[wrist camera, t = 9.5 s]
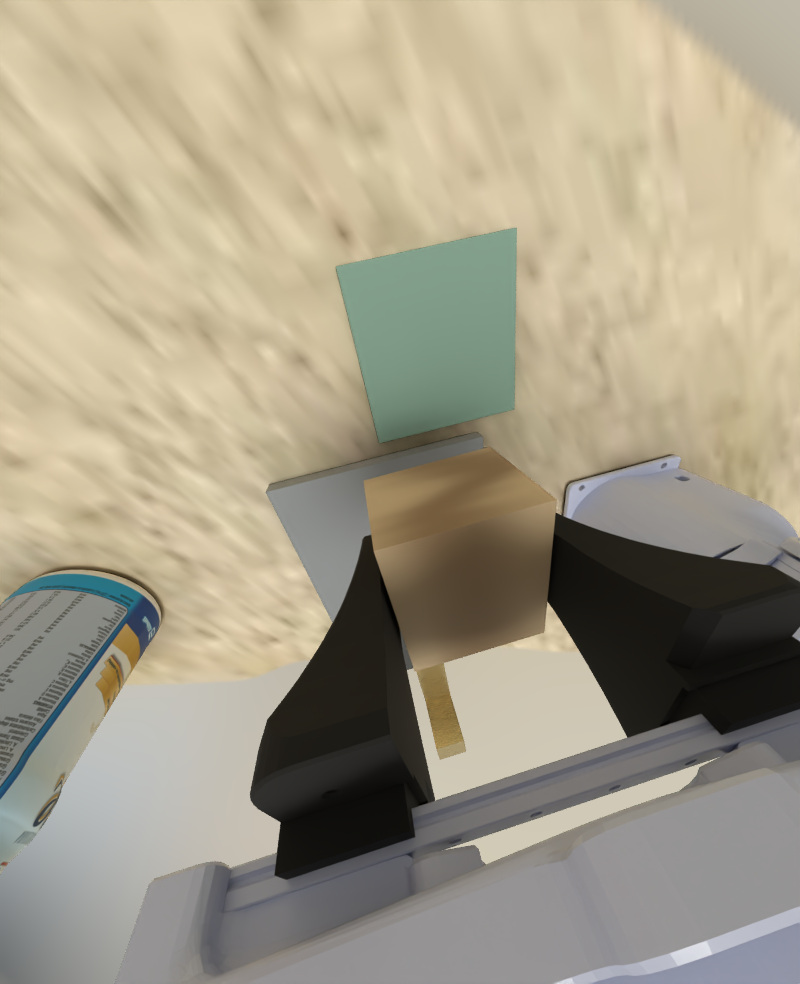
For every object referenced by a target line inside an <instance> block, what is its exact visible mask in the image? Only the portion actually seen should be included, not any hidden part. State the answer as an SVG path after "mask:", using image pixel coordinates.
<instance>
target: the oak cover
mask: <svg viewBox="0 0 800 984" xmlns="http://www.w3.org/2000/svg"><path fill="white" fill-rule="evenodd" d="M363 482H364V488H365V495H366V502H367V509H368V516H369V522H370V529H371V536H372V543H373V550H374V554H375V556H376V559H377V562H378V565H379V568H380V571H381V574H382V577H383V580H384V583H385V586H386V589H387V592H388V595H389V598H390V600H391V603H392V606H393V609H394V612H395V615H396V618H397V621H398V624H399V627H400V630H401V633H402V636H403V639H404V641H405V644H406V647H407V650H408V653H409V656H410V659H411V662H412V665H413V668H414V671H419V670H422V669H425V668H429V667H432V666H435V665H438V664H442V663H445V662H448V661H452V660H454V659H458V658H461V657H464V656H468V655H471V654H474V653H478V652H481V651H484V650H488V649H491V648H494V647H497V646H501V645H504V644H507V643H511V642H514V641H517V640H520V639H524V638H527V637H530V636H534V635H537V634H540V633H543V632H544V630H545V619H546V608H547V598H548V587H549V577H550V566H551V556H552V545H553V534H554V524H555V513H556V503H557V500H556V499H555V498H554V497H553V496H551V495H550V494H549V493H548V492H546V491H545V490H544V489H543V488H541V487H540V486H539V485H538V484H536V483H535V482H534V481H532V480H531V479H530V478H529V477H527V476H526V475H525V474H524V473H522V472H521V471H520V470H519V469H517V468H516V467H515V466H514V465H512V464H511V463H510V462H509V461H507V460H506V459H505V458H504V457H502V456H501V455H500V454H499V453H497V452H496V451H495V450H493V449H492V448H491V447H487V448H483V449H479V450H476V451H472V452H468V453H465V454H461V455H457V456H453V457H450V458H446V459H442V460H439V461H435V462H431V463H427V464H424V465H420V466H416V467H413V468H409V469H405V470H401V471H398V472H394V473H390V474H386V475H383V476H379V477H375V478H372V479H368V480H364V481H363Z"/></svg>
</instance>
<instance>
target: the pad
mask: <svg viewBox="0 0 800 984" xmlns="http://www.w3.org/2000/svg"><path fill="white" fill-rule="evenodd" d="M516 243H517V228H512V229H508V230H503V231H498V232H494V233H489V234H484V235H480V236H475V237H471V238H466V239H461V240H457V241H452V242H447V243H443V244H438V245H434V246H429V247H424V248H420V249H415V250H410V251H406V252H401V253H397V254H392V255H387V256H383V257H378V258H373V259H369V260H364V261H360V262H355V263H350V264H346V265H341V266H336V270H337V274H338V278H339V282H340V286H341V290H342V294H343V298H344V302H345V306H346V310H347V314H348V319H349V323H350V327H351V331H352V335H353V339H354V343H355V347H356V351H357V355H358V359H359V363H360V367H361V371H362V375H363V379H364V383H365V387H366V391H367V396H368V400H369V404H370V408H371V412H372V416H373V420H374V424H375V428H376V432H377V436H378V440H379V443H383V442H387V441H391V440H395V439H399V438H403V437H407V436H411V435H415V434H419V433H423V432H427V431H431V430H435V429H439V428H443V427H447V426H451V425H455V424H458V423H462V422H466V421H470V420H474V419H478V418H482V417H486V416H490V415H494V414H498V413H502V412H506V411H510V410H514V401H515V322H516Z"/></svg>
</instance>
